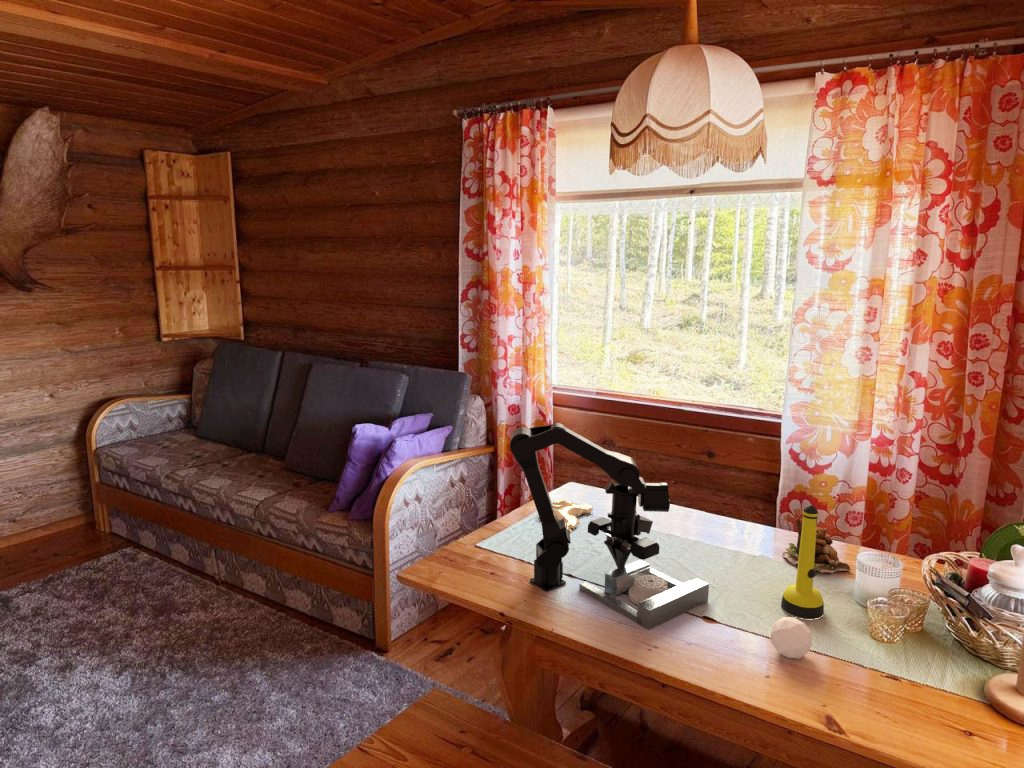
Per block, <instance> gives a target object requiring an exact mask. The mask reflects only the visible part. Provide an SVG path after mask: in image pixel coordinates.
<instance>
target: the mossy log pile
mask: <svg viewBox="0 0 1024 768" xmlns="http://www.w3.org/2000/svg"><path fill="white" fill-rule="evenodd" d="M795 522H796V527H797V532H798V533H797V543H796V545H795V543H792V542H789V543H787V544H788V545H789V546H788V547H787V548H785V550H784V551H783V552H782V557H783V558H785V559H786V560H787V561H789V562H790V565H793V566H796V565H798V559H799V550H800V541H801V531H802V522H803V518H799V517H797V518H795ZM827 529H828V528H823V527H820V526H819V527H817V528H816V544H815V559H814V570H815V571H816V572H820V573H829V574H835V573H836V572H838V571H845V572H847V571H849V572H850V571H851V570H852V568H851V566H850V565H849V564H848V563H846V562H843V561H841V560H840V558H839V557H838V551H837V550H836V549H835V547H833V546H832V544H833V540H832V538H831V537H829V536H826V534H827V532H828V531H827Z"/></svg>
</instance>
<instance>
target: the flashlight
mask: <svg viewBox="0 0 1024 768" xmlns="http://www.w3.org/2000/svg"><path fill="white" fill-rule="evenodd" d="M819 516H820V515H819V510H818V509H817V508H816V506H814V505H813V504H809V505H806V507H804V509H803V510H802V519H803V522H802V531H801V541H800V550H799V559H798V564H797V571H796V580H795V583H794V584H793V583H792V584H790V585H788V586H787V587H786V588H785V590H784V591H783V592H782V597H781V604H780V609H781V610H782V611H783V612H784V614H787V616H789V615H790V616H789V617H792V616H793V617H797V618H803V619H815V618H819V617H821V616H822V615H823V614H824V613H825V611H824V609H825V603H824V602H825V601H824V598H823V596H822V594H821V592H820V591H819V590H818V589H817V588H815V587H814V578H816V575H817V570H815V569H814V559H815V544H816V528H817V525H818V517H819ZM797 618H796V619H797Z"/></svg>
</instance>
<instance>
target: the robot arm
mask: <svg viewBox="0 0 1024 768" xmlns="http://www.w3.org/2000/svg"><path fill="white" fill-rule="evenodd" d="M511 433H512V434H511V435H510V443H509V449H510V452H511V453H512V455H513V457H514V458H515V460H516V462H517V464H518V465H519V467H520V468H521V469H522V471H523V473H524V476H525V478H526V481H527V485H528V488H529V491H530V493H531V497H532V499H533V502H534V506H535V509H536V512H537V515H538V518H539V520H540V524H541V531H542V538H541V539H540V540H539V541H538V542H537V543H536V544H535V547H536V548H535V549H536V550H535V551H536V552H535V559H534V561H533V577H532V578H530V579H529V582H530V583H532V584H533V585H535V586H537V587H539V588H540V589H541V590H543V591H545V592H549V591H550V590H553V589H557V588H559V587H561V586H564V585H566V584H567V581H565V580H564V579H563V578H564V571H563V570H564V563H563V558H565V557H566V556H567V555H568V552H570V551H569V550H570V544H571V543H572V542H571V533H570V531H569V530H568V529H567V527H566V523H565V518H564V519H561V520H559V519H558V517H557V516H556V514H555V512H554V509H553V504H552V503H553V502H552V501H551V497H550V494H549V491H548V488H547V485H546V482H545V479H544V476H543V473H542V470H541V467H540V464H539V460H538V459H539V458H538V451H542V450H543V449H546V448H548V447H551V446H553V445H556V444H558V445H560V446H561V447H564V448H565V449H567V450H569V451H571V452H573V454H576V455H578V456H580V457H581V458H582V459H585V460H587V461H589V462H590V463H592V464H594V465H596V466H598V468H600V469H602V470H603V472H605V473H606V474H607V475H608V476H609V477H610V478H611V479H613V480H614V481H615V482H616V483H615V482H614V481H613V480H610V482H609V483H607V484H606V485H604V491H605V494H608V495H609V494H611V495H612V499H611V511H610V512H607V517H604V516H602V517H599V518H596V519H593V520H590V521H589V522H588V525H587V534H590V535H592V536H594V537H595V536H598V535H599V533H600V532H603V533H605V536H606V538H605V540H604V541H603V543H604V545H606V547H607V549H608V551H609V553H610V554H611V556H612V559H613V560H614V562H615V565H616V569H617V568H620V567H623V566H625V565H626V563H627V562H628V561H627V560H628V559H629V557H630V555H632V556H633V557H635V558H637V559H638V560H642V561H643V560H647V559H650V558H652V557H654V556H657V555H659V554H660V543H658V542H657V541H656V540H652V539H650V538H648V537H647V536H645V537H643V538H641V539H640V538H639V537H637V536H641V534H642V533H645V534H648V535H649V534H650V533H651V530H652V526H653V522H654V521H653V520H651V519H649V518H646V517H645V516H642V515H640V513H637V501H638V506H639V507H640V508H641V507H642V510H643V512H657V513H658V512H659V513H660V512H662V513H663V512H664V513H669V511H670V506H671V500H670V492H669V485H668V483H667V482H645V480H644V478H643V477H641V476H640V470H639V467H638V465H637V463H636V462H635V460H634V459H633V458H632V457H630V456H628V455H626V454H622V453H620V452H617V451H610V450H608V449H605V448H604V447H602V446H600V445H598V444H597V443H595V442H593V441H591V440H589V439H587V438H585V437H584V436H582V435H580V434H578V433H577V432H575V431H573V430H572V429H570V428H568V427H566V426H565V425H564V424H562V423H560V422H555V423H552V424H547V425H539V426H533V427H530V428H528V427H525V426H522V427H517V428H516V429H514V430H513V431H512V432H511ZM637 499H638V500H637ZM608 518H609V519H608Z"/></svg>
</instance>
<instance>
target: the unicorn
mask: <svg viewBox="0 0 1024 768" xmlns="http://www.w3.org/2000/svg"><path fill="white" fill-rule="evenodd" d="M551 503H552V506H553V509H554V512H555V514H556V516H557V517H558V519H559V520H561V519H564V518H565V523H566V527H567V529H568V530H569V532H571V533H572V532H573V530H572V529H575V528H576V527H577V526H579V525H580V524H581V523H580V520H579V518H577V517H580V516H581V515H585V514H591V513H592V512H593V511H594V509H593V508H594V506H592V505H591V504H590V503H588V504H582V505H580V504H577V502H576V503H575V502H571V501H566V500H564V499H563V500H557V501H553V502H551Z"/></svg>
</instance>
